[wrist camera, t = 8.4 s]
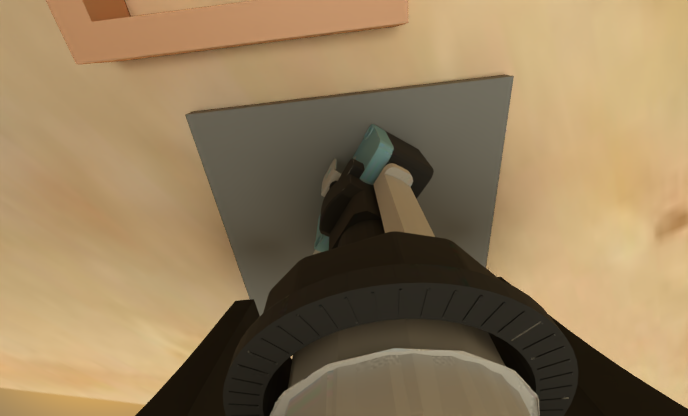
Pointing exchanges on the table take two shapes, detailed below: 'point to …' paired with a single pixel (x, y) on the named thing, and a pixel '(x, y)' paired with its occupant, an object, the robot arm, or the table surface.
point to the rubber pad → (341, 143)
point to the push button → (395, 315)
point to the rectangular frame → (210, 25)
